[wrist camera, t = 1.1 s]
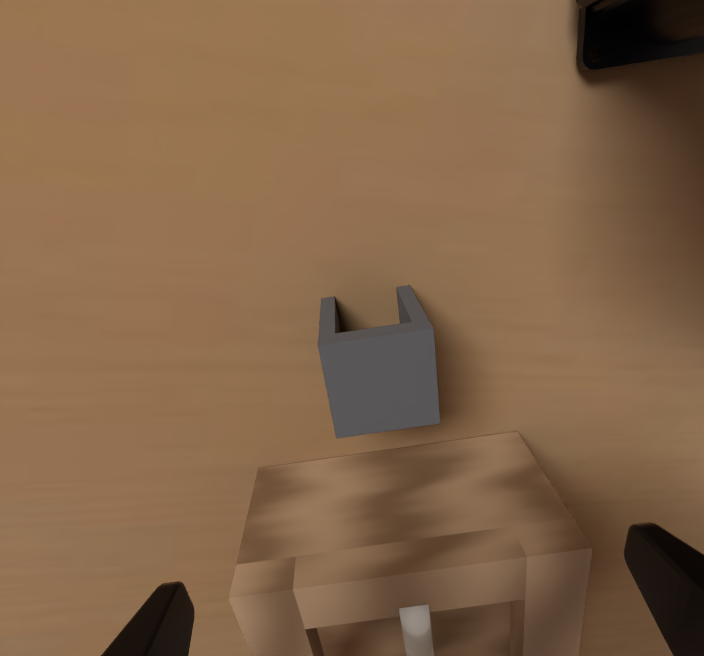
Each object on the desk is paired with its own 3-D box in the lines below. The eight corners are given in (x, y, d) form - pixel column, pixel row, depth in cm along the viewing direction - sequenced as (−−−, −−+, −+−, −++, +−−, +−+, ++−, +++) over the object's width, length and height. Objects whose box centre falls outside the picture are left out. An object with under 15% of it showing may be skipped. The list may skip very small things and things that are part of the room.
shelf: (517, 431, 22) (602, 562, 15) (513, 608, 28) (572, 760, 21) (258, 468, 22) (225, 614, 15) (309, 636, 28) (302, 795, 21)
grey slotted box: (409, 285, 19) (433, 328, 14) (416, 363, 20) (440, 423, 16) (321, 298, 19) (317, 345, 14) (335, 374, 20) (336, 438, 16)
